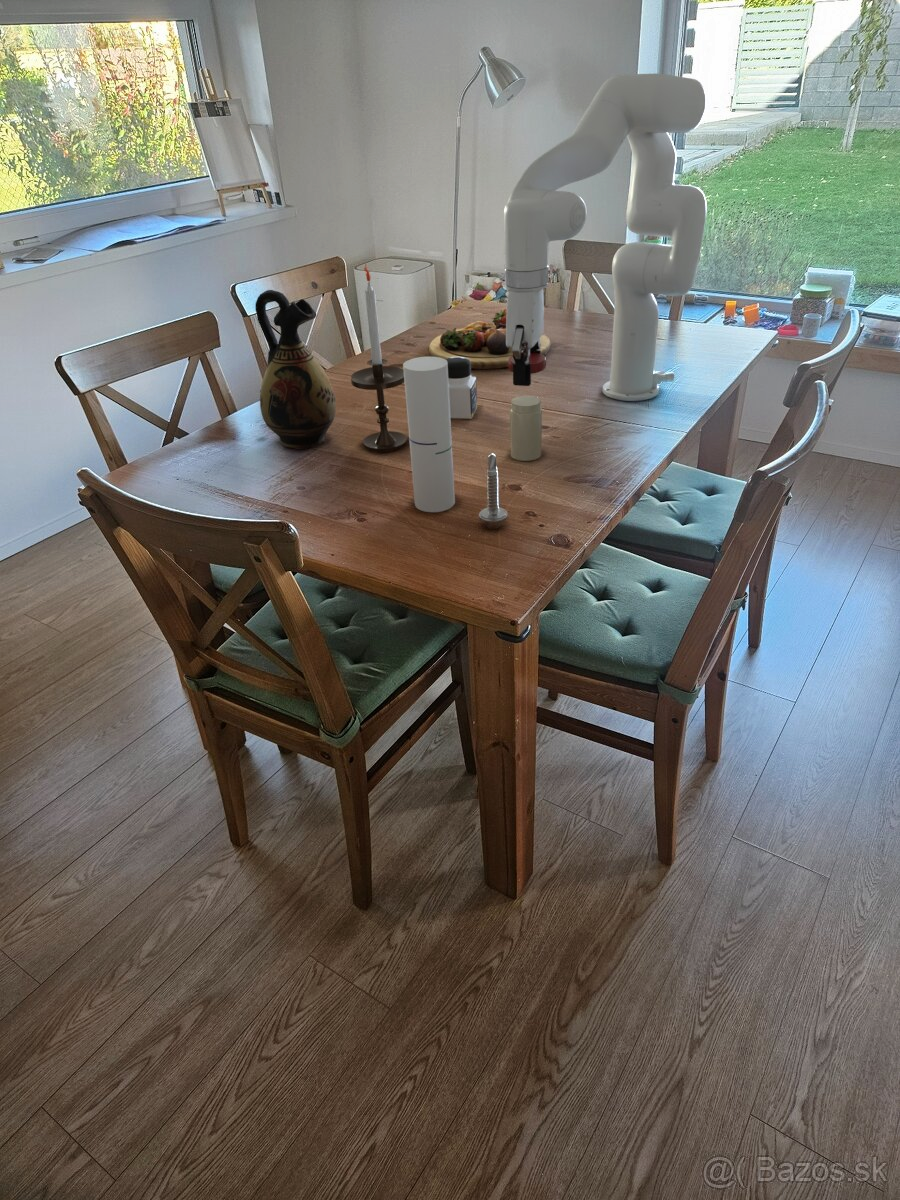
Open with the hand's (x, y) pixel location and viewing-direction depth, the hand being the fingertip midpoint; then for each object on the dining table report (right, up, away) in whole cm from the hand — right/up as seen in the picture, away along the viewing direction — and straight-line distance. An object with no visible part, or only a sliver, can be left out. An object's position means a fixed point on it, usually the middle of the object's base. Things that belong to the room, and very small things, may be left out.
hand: (527, 377), depth 152 cm
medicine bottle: (-12, 0, +29) cm, 31 cm away
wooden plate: (-4, +24, +65) cm, 69 cm away
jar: (+1, -13, +8) cm, 15 cm away
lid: (0, +3, -2) cm, 3 cm away
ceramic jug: (-46, -8, +21) cm, 51 cm away
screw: (-7, -29, -15) cm, 33 cm away
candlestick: (-28, -9, +16) cm, 33 cm away
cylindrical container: (-17, -24, -7) cm, 30 cm away
